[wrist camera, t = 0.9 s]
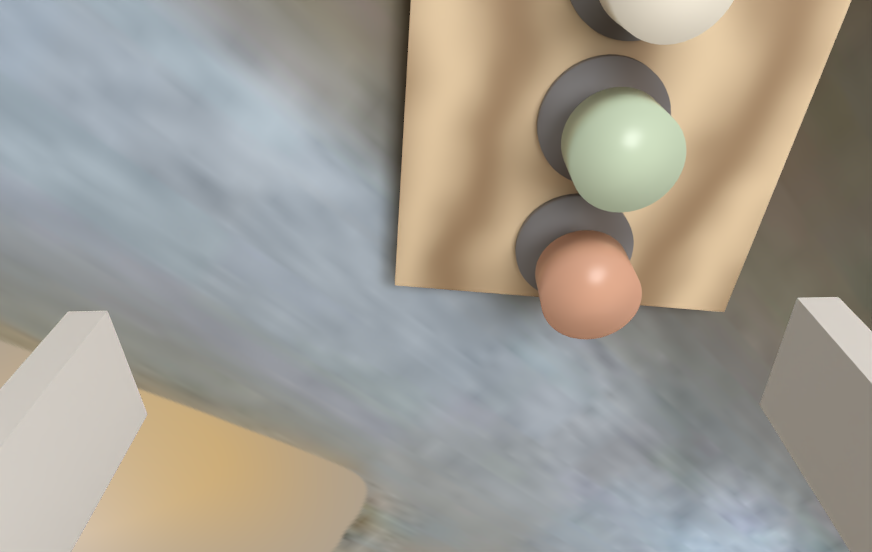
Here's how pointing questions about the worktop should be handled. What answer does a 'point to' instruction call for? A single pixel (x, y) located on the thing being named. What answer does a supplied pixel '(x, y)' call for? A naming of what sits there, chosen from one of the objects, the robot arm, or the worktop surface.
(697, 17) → the cream button
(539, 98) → the button board
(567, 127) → the sage button
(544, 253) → the terracotta button
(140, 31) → the worktop surface
